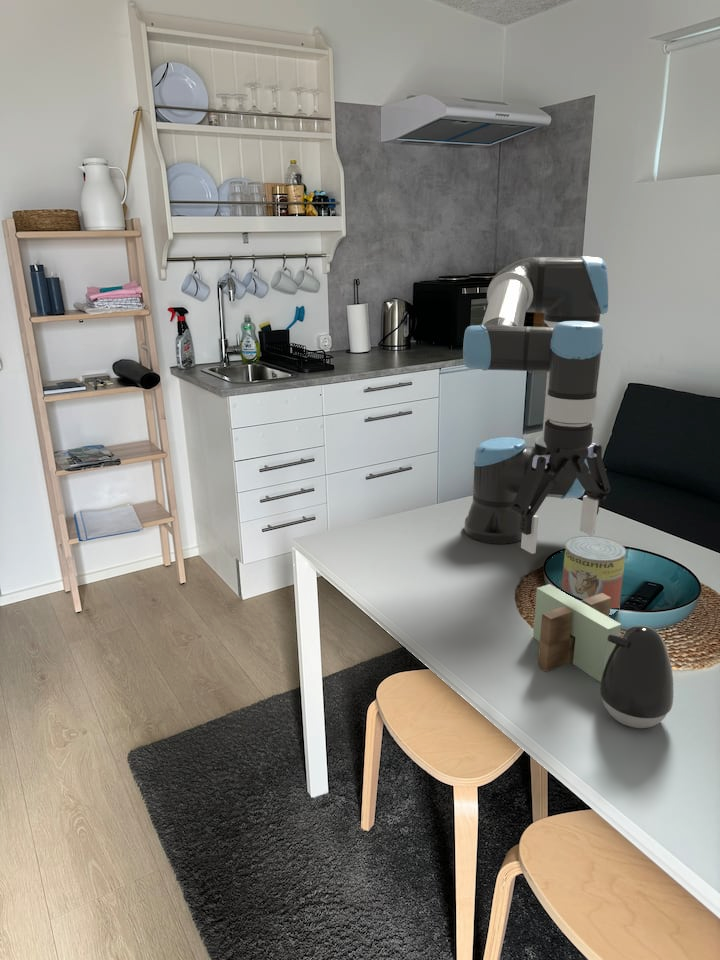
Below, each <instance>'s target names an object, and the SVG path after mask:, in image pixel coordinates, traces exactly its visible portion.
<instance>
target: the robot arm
mask: <svg viewBox="0 0 720 960" xmlns="http://www.w3.org/2000/svg"><path fill="white" fill-rule="evenodd" d="M608 279H609V278H608V268H607V263H606V261H605V260H604V259H603V258H601V257H598V256H597V257H596V256H595V257H593V256H585V255H582V256H546V257H545V256H543V257H542V256H532V257H526V258H522V259H520V260H518V261H517V260H516V261H515V262H513V263H510V264H508V265H507V266H505V267H504V268H502V269H501V270H500V271H498V272H497V273H496V274H495V275H494V276H493V278H492V279H491V281H490V283H489V285H488V287H487V291H486V300H487V307H486V311H485V313H484V316H483V318H482V319H483V320H482V322H481V324H479V325H469V326H467V327H466V328H465V330H464V335H463V336H464V337H463V347H462V357H463V364H464V366H465V367H466V368H468V369H474V370H482V371H519V372H520V371H521V372H523V371H525V372H526V371H527V372H543V373H546V372H547V374H546V384H545V386H546V387H545V401H544V408H543V409H544V411H543V421H542V422H543V423H542V433H541V434H540V435H539V436H537V437H536V438H535V440H534V446H528V445H527V443H526V441H525V440H524V439H523V438H520V437H519V438H516V437H514V436H513V437H511V436H509V437H508V436H507V437H506V436H505V437H497V438H491V439H487V440H484V441H482V442H481V443H479V444H478V445H477V446H476V447H475V453H474V460H473V465H474V467H473V468H474V470H473V487H472V488H473V490H472V503H471V505H470V507H469V511H468V513H467V516H466V517H465V519H464V525H463V526H464V533H465V534H466V535H467V536H468V537H470V538H472V539H473V540H476V541H479V542H482V543H487V544H497V545H500V544H504V545H505V544H513V543H516V542H519V541H521V544H520V548H521V549H523V550H524V551H526V552H527V553H529V554H533V555H534V554H536V552H537V551H536V550H537V540H538V527H539V526H538V525H539V515H536V513H537V512H538V510H539V509H540V507H541V505H542V504H543V502H544V501H545V500H546V498H555V499H560V500H565V499H579V498H582V504H581V515H580V523H579V524H580V525H579V531H580V532H583V533H584V534H587V536H596V535H595V534H596V526H597V525H596V524H597V515H598V514H599V511H600V503H601V501H605V500H606V499H607V494H609V493H610V492H611V485H610V482H609V478H608V475H607V471H606V468H605V465H604V461H603V458H602V452H603V451H602V449H603V446H602V445H601V444H597V443H595V442H593V435H594V428H595V426H594V424H593V423H592V422H593V421H595V418H596V407H597V397H598V395H597V393H598V391H597V390H598V384H599V383H598V381H599V374H600V366H601V358H602V357H601V356H602V351H603V347H604V344H603V333H604V329H603V326H602V325H601V324H600V319H601V315H605V314H607V313H608V311H609V280H608ZM526 313H543V314H544V320H543V322H544V323H545V324H546V325H547V326H524V325H525V318H526ZM585 492H586V494H587V495H584V494H585ZM582 496H583V497H582Z"/></svg>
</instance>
